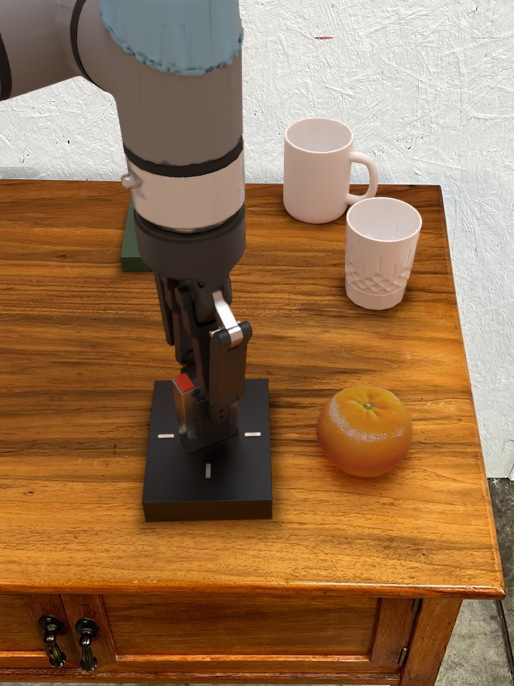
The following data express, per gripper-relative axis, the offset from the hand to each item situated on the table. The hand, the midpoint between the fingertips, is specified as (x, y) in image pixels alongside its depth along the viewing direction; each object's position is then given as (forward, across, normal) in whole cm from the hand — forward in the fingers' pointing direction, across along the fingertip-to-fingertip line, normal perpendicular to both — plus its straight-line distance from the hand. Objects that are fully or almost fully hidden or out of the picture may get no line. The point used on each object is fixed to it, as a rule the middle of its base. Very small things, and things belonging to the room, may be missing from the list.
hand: (208, 425), depth 69 cm
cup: (+5, -28, +31) cm, 42 cm away
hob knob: (+1, 0, 0) cm, 1 cm away
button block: (+4, -32, +10) cm, 34 cm away
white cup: (+5, -12, +27) cm, 30 cm away
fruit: (+5, +7, +12) cm, 15 cm away
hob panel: (+4, 0, 0) cm, 4 cm away
